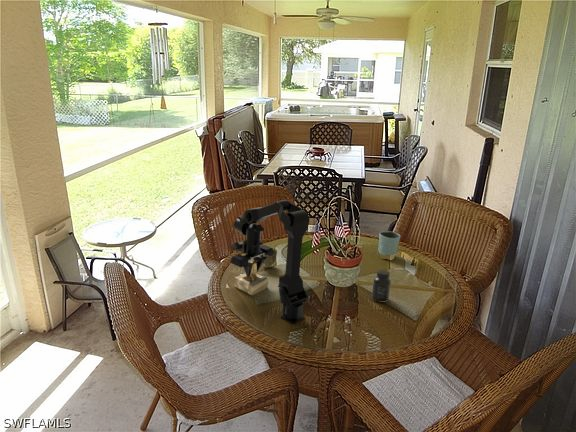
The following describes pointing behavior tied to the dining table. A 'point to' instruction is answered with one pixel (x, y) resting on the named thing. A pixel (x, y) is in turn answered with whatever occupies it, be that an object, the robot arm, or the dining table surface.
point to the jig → (251, 284)
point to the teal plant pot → (388, 242)
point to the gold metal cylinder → (253, 271)
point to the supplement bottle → (381, 286)
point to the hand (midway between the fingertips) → (251, 274)
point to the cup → (270, 259)
